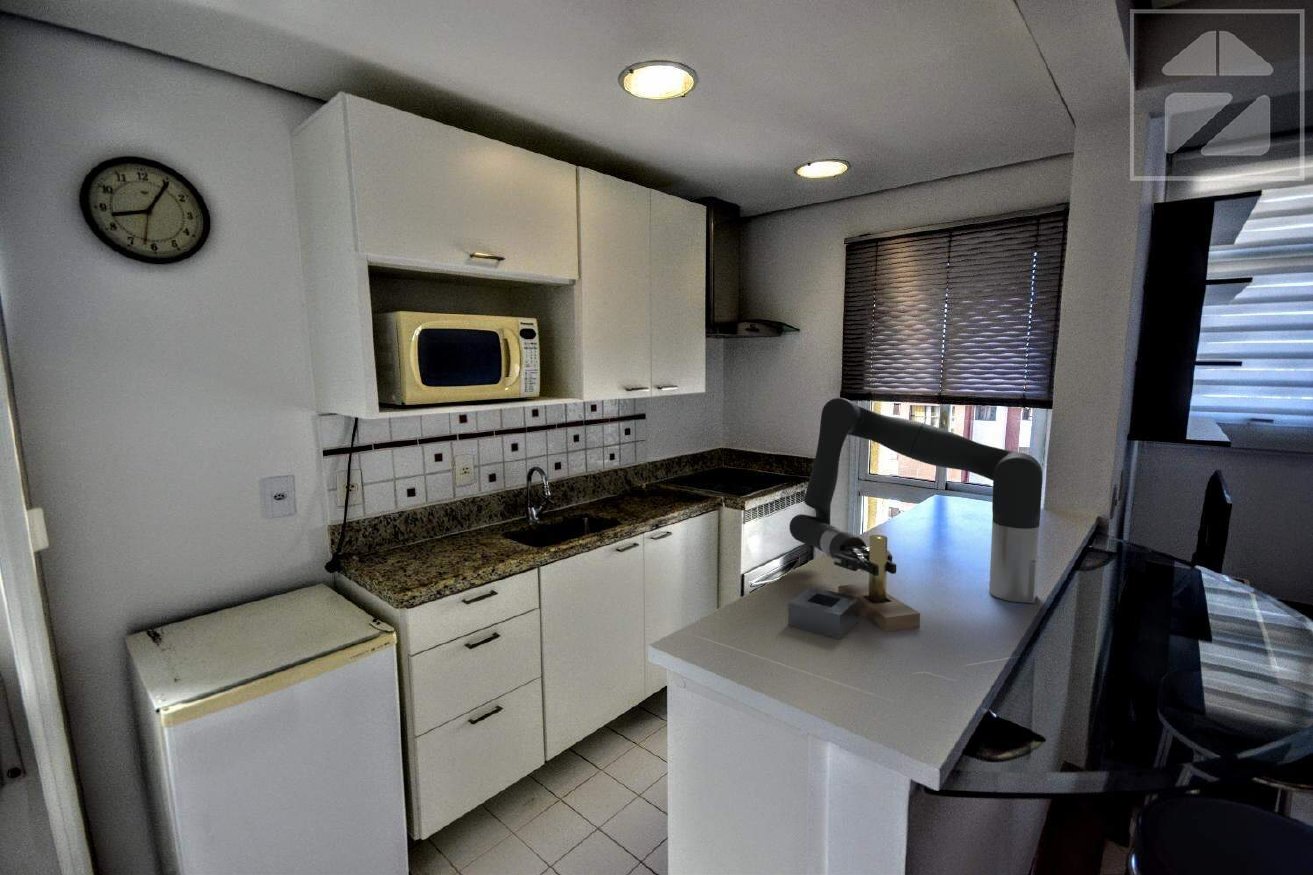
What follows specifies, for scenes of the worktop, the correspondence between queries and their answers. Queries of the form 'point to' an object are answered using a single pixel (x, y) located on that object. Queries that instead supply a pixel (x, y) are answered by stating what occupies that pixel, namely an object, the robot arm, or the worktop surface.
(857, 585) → the beam
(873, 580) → the axle
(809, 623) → the seat block
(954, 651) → the worktop surface
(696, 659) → the worktop surface
